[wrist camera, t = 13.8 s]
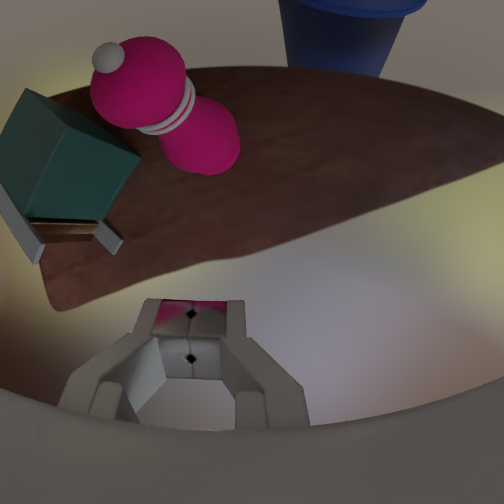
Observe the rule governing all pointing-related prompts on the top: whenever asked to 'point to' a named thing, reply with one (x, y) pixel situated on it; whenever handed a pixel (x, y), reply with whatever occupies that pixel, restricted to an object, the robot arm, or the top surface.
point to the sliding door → (64, 229)
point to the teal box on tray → (59, 170)
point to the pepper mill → (163, 104)
